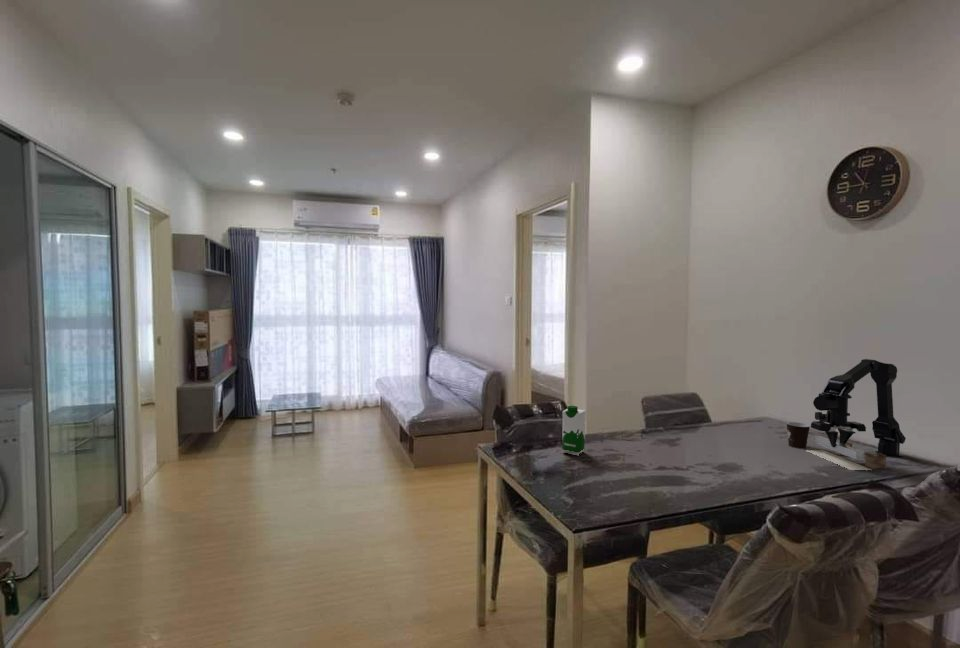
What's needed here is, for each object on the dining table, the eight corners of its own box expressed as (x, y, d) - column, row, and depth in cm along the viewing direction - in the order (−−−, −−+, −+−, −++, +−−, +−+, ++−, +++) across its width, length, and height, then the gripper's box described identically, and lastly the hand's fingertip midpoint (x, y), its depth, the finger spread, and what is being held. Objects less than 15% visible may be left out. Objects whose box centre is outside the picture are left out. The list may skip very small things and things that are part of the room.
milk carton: (559, 453, 191) (560, 406, 190) (567, 448, 199) (568, 402, 198) (579, 457, 186) (580, 409, 186) (587, 452, 194) (588, 405, 193)
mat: (823, 451, 200) (823, 450, 200) (871, 470, 176) (871, 469, 176) (805, 451, 200) (805, 450, 200) (850, 470, 176) (850, 469, 176)
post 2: (878, 465, 181) (879, 452, 181) (885, 468, 178) (886, 455, 178) (865, 465, 181) (865, 452, 181) (871, 468, 178) (872, 455, 178)
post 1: (846, 453, 197) (846, 441, 197) (851, 455, 194) (852, 443, 194) (833, 453, 197) (833, 441, 197) (839, 455, 194) (839, 443, 194)
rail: (820, 442, 199) (820, 435, 199) (863, 459, 177) (863, 451, 177) (813, 442, 199) (813, 435, 198) (855, 459, 177) (856, 451, 177)
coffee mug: (808, 450, 200) (809, 427, 200) (785, 446, 206) (785, 424, 205) (809, 444, 210) (810, 422, 209) (786, 441, 215) (787, 419, 215)
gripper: (845, 405, 195) (844, 441, 196) (801, 405, 195) (800, 441, 196) (867, 411, 184) (866, 449, 185) (821, 410, 184) (820, 449, 184)
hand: (837, 447), depth 188 cm, fingers closed on rail, 3 cm apart
